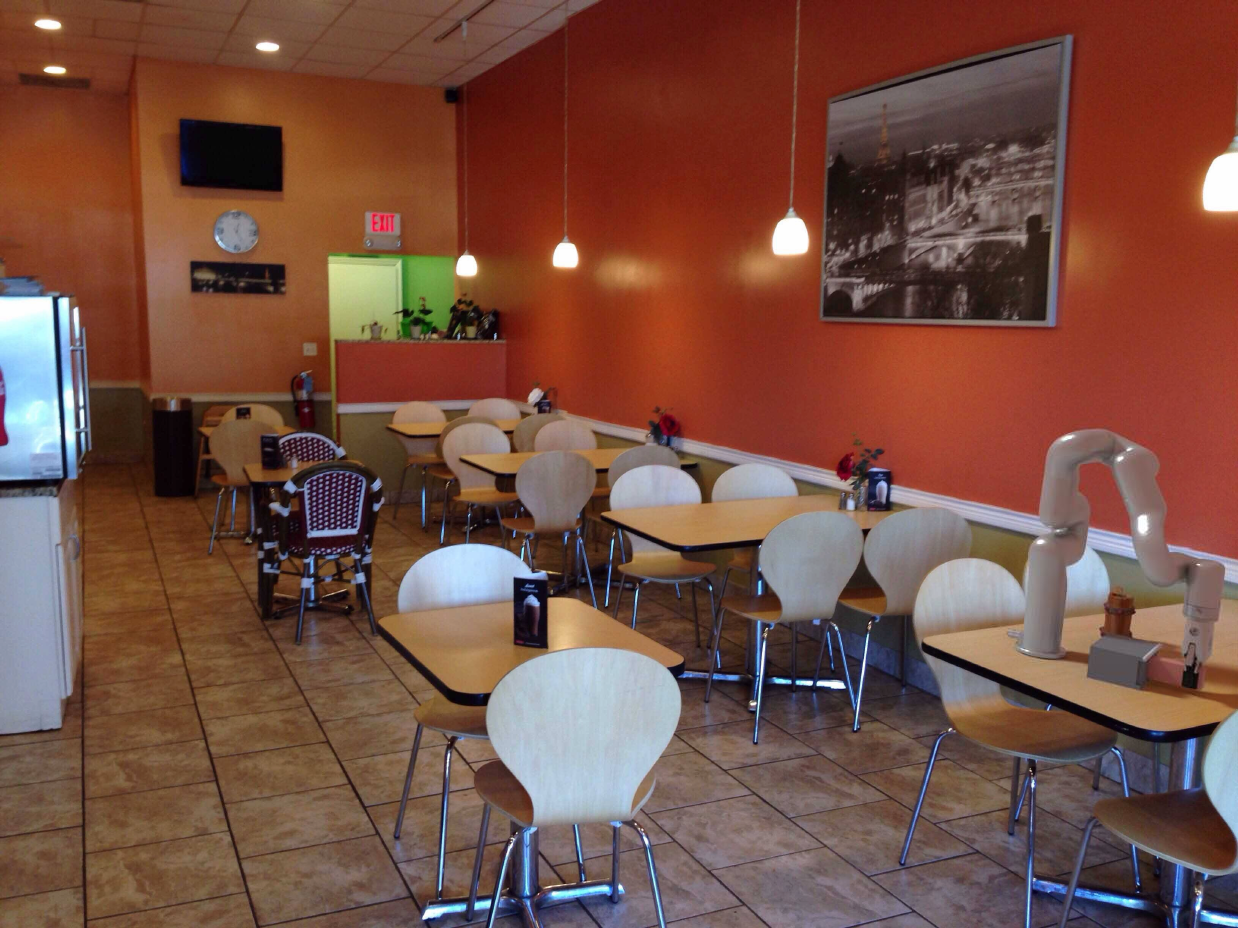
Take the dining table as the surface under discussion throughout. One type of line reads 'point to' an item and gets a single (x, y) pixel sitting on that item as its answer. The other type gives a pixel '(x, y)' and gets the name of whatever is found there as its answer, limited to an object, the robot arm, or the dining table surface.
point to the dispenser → (1121, 660)
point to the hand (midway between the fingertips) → (1190, 685)
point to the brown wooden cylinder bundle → (1118, 613)
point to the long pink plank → (1171, 671)
